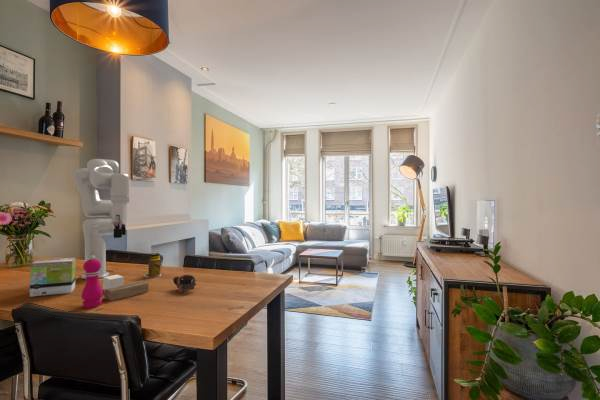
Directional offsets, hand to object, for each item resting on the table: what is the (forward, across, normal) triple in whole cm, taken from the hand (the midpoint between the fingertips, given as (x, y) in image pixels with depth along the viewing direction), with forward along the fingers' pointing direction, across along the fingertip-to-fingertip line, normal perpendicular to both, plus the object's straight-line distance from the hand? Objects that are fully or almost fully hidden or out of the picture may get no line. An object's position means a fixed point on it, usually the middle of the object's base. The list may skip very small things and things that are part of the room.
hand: (119, 236), depth 148 cm
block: (+25, +1, -2) cm, 25 cm away
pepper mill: (+25, +22, -6) cm, 34 cm away
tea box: (+25, -3, -27) cm, 37 cm away
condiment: (+25, -22, +12) cm, 36 cm away
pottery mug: (+25, +12, +29) cm, 40 cm away
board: (+25, +12, +5) cm, 28 cm away
